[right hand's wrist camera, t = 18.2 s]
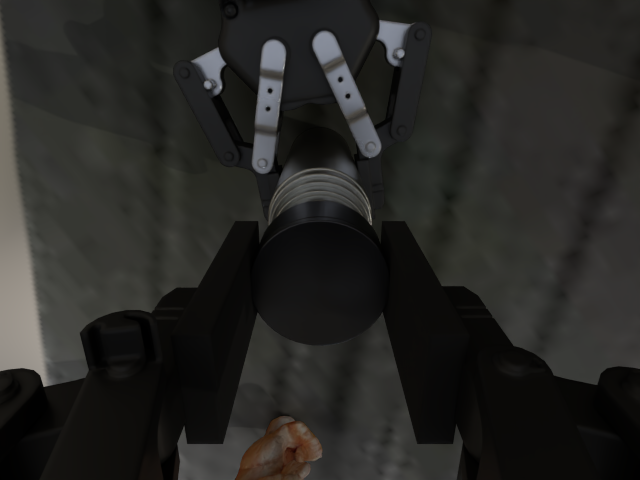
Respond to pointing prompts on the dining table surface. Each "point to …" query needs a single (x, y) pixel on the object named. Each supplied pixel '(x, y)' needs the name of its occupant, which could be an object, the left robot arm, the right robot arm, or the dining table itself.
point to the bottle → (320, 175)
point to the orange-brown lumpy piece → (281, 452)
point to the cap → (320, 274)
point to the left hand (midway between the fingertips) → (326, 220)
